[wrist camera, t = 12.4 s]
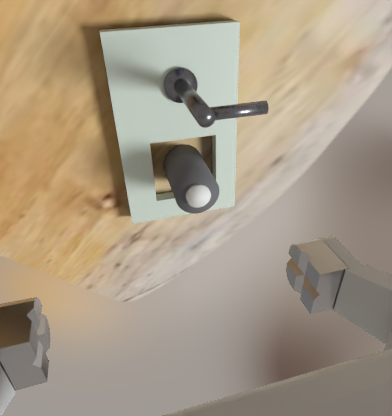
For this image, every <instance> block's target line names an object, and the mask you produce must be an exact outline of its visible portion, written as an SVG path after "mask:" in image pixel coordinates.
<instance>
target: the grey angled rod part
mask: <svg viewBox="0 0 392 416" xmlns="http://www.w3.org/2000/svg"><path fill="white" fill-rule="evenodd" d="M197 87H198V84H197V79H196V77H195V75H194V74H193V73H192V72H191V71H190V70H189V69H186V68H183V67H179V68H175V69H173V70H171V71H170V72H169V73H168V74H167V75H166V77H165V80H164V91H165V93H166V95H167V96H168V98H169V99H170V100H172V101H173V102H176V103H184V104H185V106H186V107H187V108H188V110H189V111H190V113H191V114H192V116H193V117H194V118H195V120H196V121H197V123H198V124H199V125H200V126H201V127H204V128H207V127H210V126H211V125H212V124H213V123H214V121H215V120H222V119H230V118H238V117H246V116H254V115H262V114H267V113H268V103H267V101H259V102H250V103H242V104H233V105H225V106H216V107H209V106H208V105H207V104H206V103H205V102H204V100H203V99H202V98H201V97H200V96H199V95H198V93H197V92H196V91H197Z"/></svg>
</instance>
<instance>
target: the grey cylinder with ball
mask: <svg viewBox="0 0 392 416" xmlns="http://www.w3.org/2000/svg"><path fill="white" fill-rule="evenodd" d="M163 165H164V170H165V173H166V175H167V178H168V181H169V184H170V186H171V189H172V192H173V194H174V197H175V200H176V203H177V205H178V206H179V207H180V208H181V209H182V210H183V211H185V212H188V213H201V212H204V211H206V210H208V209H209V208H211V207H212V206H213V205H214V204H215V202H216V201H217V199H218V197H219V186H218V183H217V182H216V180H215V178H214V177H213V175H212V173H211V171H210V170H209V168H208V166H207V165H206V163H205V161H204V160H203V158H202V156H201V155H200V153H199V151H198V150H197V149H196V148H194V147H192V146H190V145H179V146H176V147H174V148H172V149H171V150H170V151H169V152H168V153H167V154H166V156H165V158H164V163H163Z"/></svg>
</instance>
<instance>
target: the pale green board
mask: <svg viewBox="0 0 392 416" xmlns="http://www.w3.org/2000/svg"><path fill="white" fill-rule="evenodd" d="M99 31H100V37H101V43H102V49H103V55H104V60H105V66H106V72H107V78H108V84H109V90H110V96H111V102H112V107H113V113H114V119H115V125H116V131H117V137H118V143H119V148H120V154H121V160H122V166H123V172H124V178H125V184H126V189H127V195H128V201H129V207H130V213H131V219H132V223H138V222H144V221H150V220H156V219H161V218H167V217H173V216H179V215H185V214H191V213H188V212H185V211H183V210H182V209H181V208H180V207H179V206H178V205H177V203H176V200H175V197H174V194H173V192H166V193H160V194H156V190H155V182H154V173H153V165H152V156H151V148H150V143H158V142H166V141H173V140H181V139H188V138H196V137H204V136H211V135H212V170H213V177H214V178H215V180H216V182H217V183H218V186H219V197H218V199H217V201H216V202H215V204H214V205H213V206H212V207H211V208H209V209H208V210H206V211H209V210H214V209H220V208H226V207H232V206H234V205H235V171H236V136H237V118H230V119H222V120H215V121H214V123H213V124H212V125H211V126H210V127H207V128H204V127H201V126H200V125H199V124H198V123H197V121H196V120H195V118H194V117H193V116H192V114H191V113H190V111H189V110H188V108H187V107H186V106H185V104H184V103H176V102H173V101H172V100H170V99H169V98H168V96H167V95H166V93H165V91H164V80H165V77H166V75H167V74H168V73H169V72H170V71H171V70H173V69H175V68H179V67H183V68H186V69H189V70H190V71H191V72H192V73H193V74H194V75H195V77H196V79H197V84H198V87H197V91H196V92H197V93H198V95H199V96H200V97H201V98H202V99H203V100H204V102H205V103H206V104H207V105H208V106H209V107H216V106H225V105H233V104H237V102H238V67H239V33H240V22H239V21H236V20H228V21H214V22H201V23H187V24H173V25H159V26H146V27H132V28H118V29H104V30H99Z"/></svg>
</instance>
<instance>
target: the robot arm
mask: <svg viewBox="0 0 392 416" xmlns="http://www.w3.org/2000/svg"><path fill="white" fill-rule="evenodd" d="M289 255H290V256H291V257H292V258H291V259H290V260H289V262H288V263H287V268H286V272H287V278H288V280H289V283H290V285H291V286H292V288H293V289H294V290H295V291H297V292H299V293H301V298H300V300H301V301H302V303H303V304H304V306H305V307H306V308H307V310H308V311H309V313H310V314H314V313H318V312H323V311H327V310H332V309H334V311H335V312H337V313H338V314H340V315H341V316H343V317H345V318H346V319H348V320H349V321H351V322H352V323H354V324H355V325H357V326H359V327H360V328H362V329H363V330H365V331H366V332H368V333H369V334H371V335H372V336H374V337H376V338H377V339H379V340H380V341H382V342H383V343H385V345H384V348H383V350H382V351H381V352H377V353H374V354H370V355H367V356H364V357H360V358H357V359H353V360H350V361H347V362H343V363H340V364H337V365H333V366H330V367H326V368H323V369H320V370H316V371H313V372H309V373H306V374H302V375H299V376H296V377H292V378H289V379H285V380H282V381H279V382H275V383H272V384H269V385H265V386H262V387H258V388H255V389H252V390H248V391H245V392H241V393H238V394H235V395H231V396H228V397H224V398H221V399H218V400H214V401H211V402H207V403H204V404H201V405H198V406H194V407H190V408H187V409H184V410H180V411H177V412H174V413H170V414H167V415H163V416H392V275H391V274H389V273H386V272H384V271H382V270H379V269H376V268H374V267H372V266H369V265H362V264H361V263H360V262H359V261H358V260H357V259H356V258H355V256H354V255H353V254H351V252H350V251H349V250H348V249H347V248H346V247H345V246H344V245H343V244H342V243H341V242H340V241H339V240H338V239H337V238H336V237H334V236H328V237H323V238H319V239H314V240H309V241H305V242H301V243H296V244H292V245H291V246H290V249H289ZM41 309H42V305H41V303H40V300H39V299H38V298H37V297H36V298H30V299H25V300H19V301H14V302H8V303H3V304H0V416H1V415H2V413H3V412H4V410H5V408H6V407H7V405H8V404H9V402H10V401H11V399H12V397H13V395H14V394H15V391H16V390H19V389H23V388H26V387H30V386H33V385H37V384H41V383H44V382H47V377H48V365H49V360H48V358H47V355H46V352H47V350H48V349H49V348H50V329H49V324H48V321H47V318H46V316H45V315H43V314H41Z"/></svg>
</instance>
